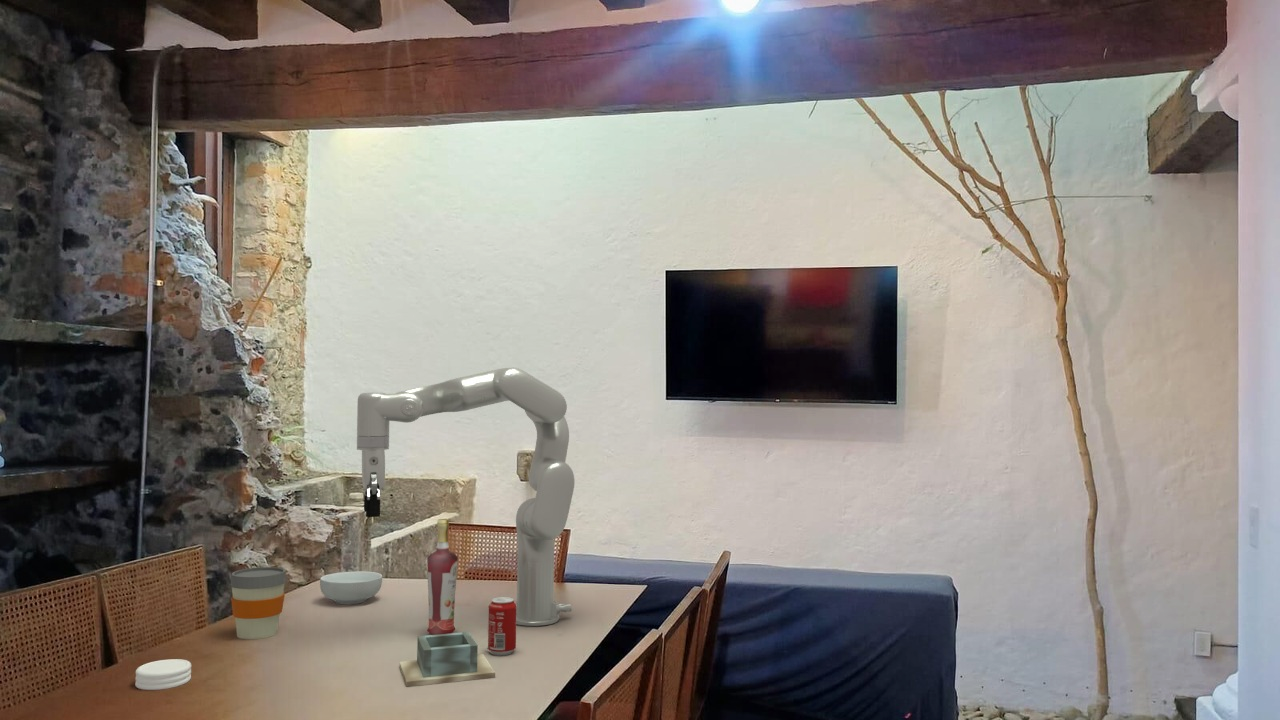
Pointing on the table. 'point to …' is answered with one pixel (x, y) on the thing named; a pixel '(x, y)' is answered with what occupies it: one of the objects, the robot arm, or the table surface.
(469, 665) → the well board
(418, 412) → the robot arm
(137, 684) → the coaster
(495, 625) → the beverage can
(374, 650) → the table surface
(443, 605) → the liquor
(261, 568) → the reusable coffee cup
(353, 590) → the cereal bowl
